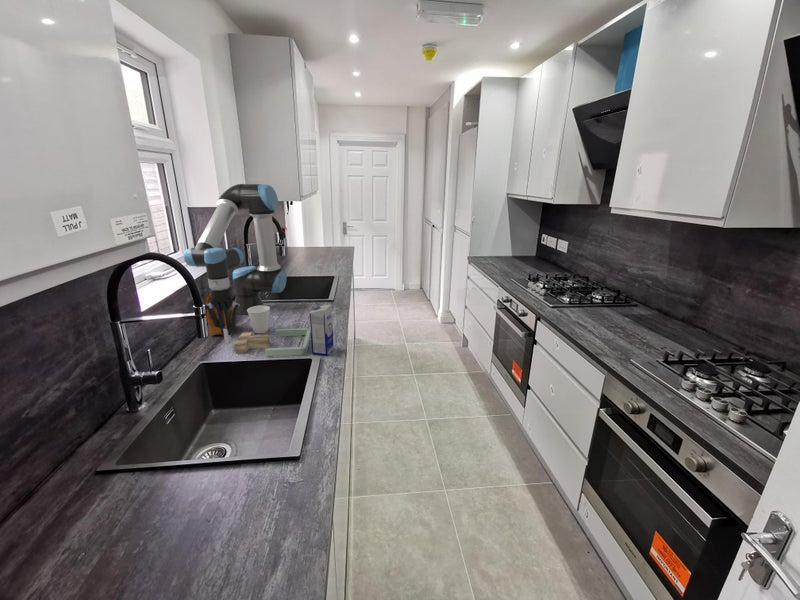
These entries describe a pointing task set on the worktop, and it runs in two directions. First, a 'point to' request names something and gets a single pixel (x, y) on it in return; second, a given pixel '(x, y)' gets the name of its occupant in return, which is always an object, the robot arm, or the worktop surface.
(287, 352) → the dock bay
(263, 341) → the t block
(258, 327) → the cup
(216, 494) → the worktop surface
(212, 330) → the coffee package
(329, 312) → the milk carton
